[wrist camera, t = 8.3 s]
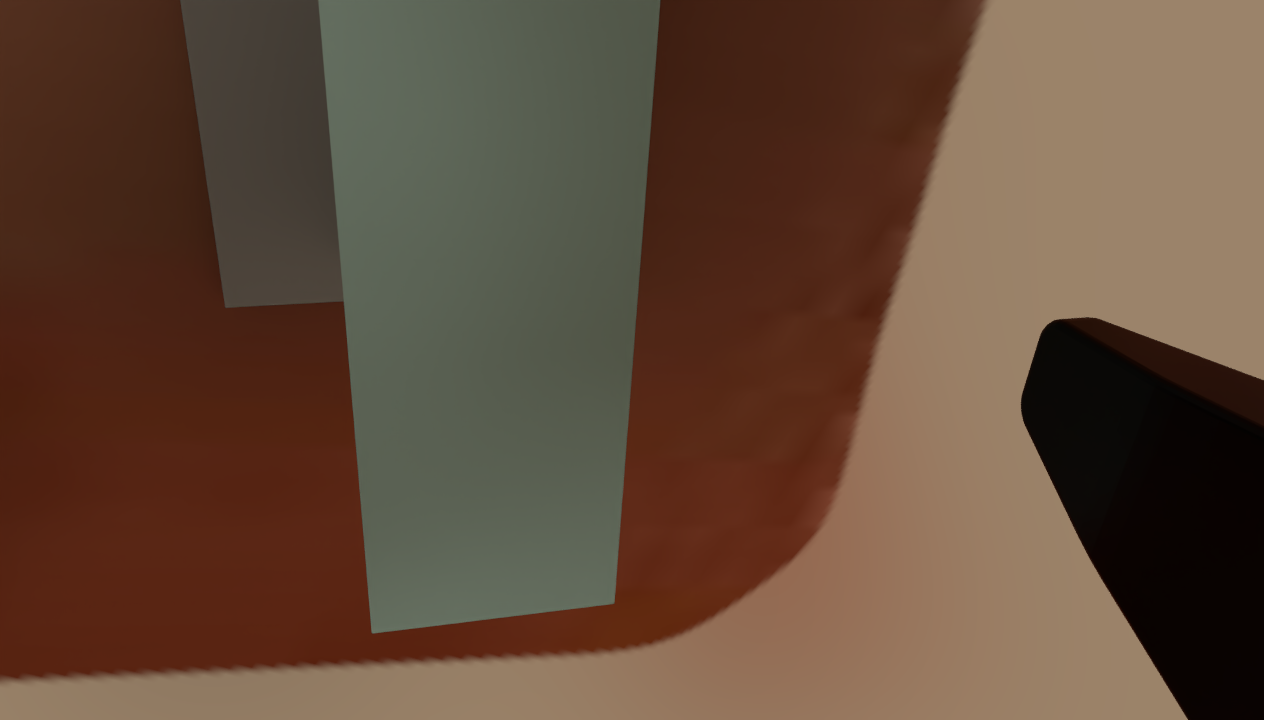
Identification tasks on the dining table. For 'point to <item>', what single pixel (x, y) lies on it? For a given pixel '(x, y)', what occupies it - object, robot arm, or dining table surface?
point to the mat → (266, 148)
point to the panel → (489, 291)
